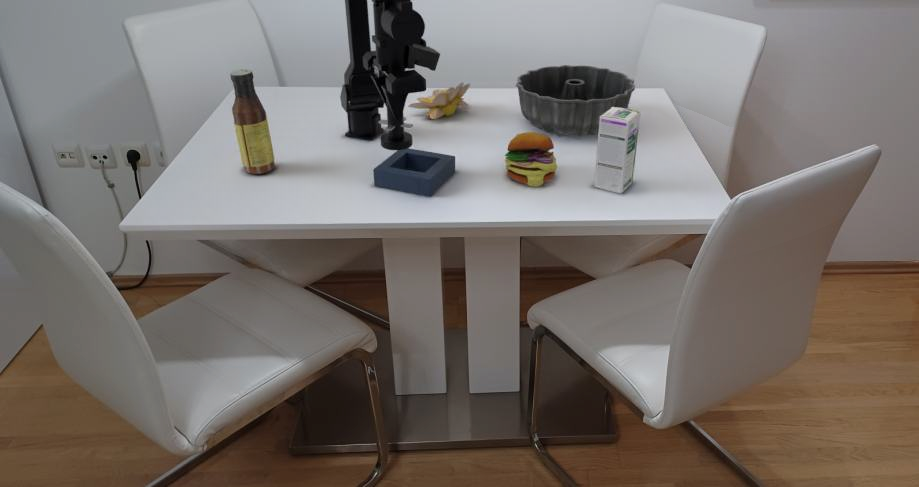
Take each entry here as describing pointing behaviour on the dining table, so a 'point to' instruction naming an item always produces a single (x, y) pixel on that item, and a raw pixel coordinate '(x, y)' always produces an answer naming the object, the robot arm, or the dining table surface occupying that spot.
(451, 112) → the decorative flower
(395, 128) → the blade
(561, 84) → the bundt pan
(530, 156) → the cheeseburger
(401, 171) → the blue square frame
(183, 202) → the dining table surface
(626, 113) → the syrup box
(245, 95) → the sauce bottle
